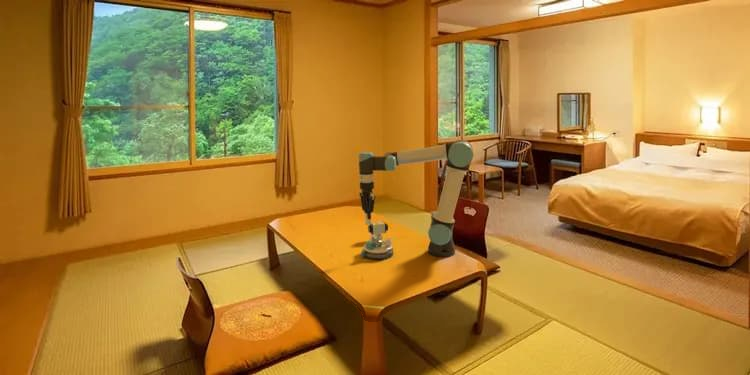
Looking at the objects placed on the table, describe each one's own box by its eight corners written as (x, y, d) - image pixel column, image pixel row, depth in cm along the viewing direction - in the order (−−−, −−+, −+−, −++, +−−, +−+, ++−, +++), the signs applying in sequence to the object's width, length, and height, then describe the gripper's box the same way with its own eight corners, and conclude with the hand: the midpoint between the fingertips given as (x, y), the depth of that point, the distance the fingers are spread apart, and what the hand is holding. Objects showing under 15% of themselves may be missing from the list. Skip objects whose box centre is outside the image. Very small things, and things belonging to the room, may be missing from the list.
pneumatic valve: (388, 240, 258) (388, 221, 256) (370, 242, 255) (369, 223, 252) (385, 237, 263) (385, 219, 261) (367, 239, 260) (367, 221, 258)
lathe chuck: (376, 242, 245) (376, 232, 244) (398, 248, 235) (397, 238, 234) (357, 250, 234) (357, 239, 232) (379, 256, 223) (379, 245, 222)
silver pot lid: (399, 253, 236) (399, 246, 236) (379, 263, 222) (379, 256, 222) (375, 247, 247) (375, 240, 246) (354, 256, 233) (354, 249, 232)
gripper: (354, 180, 227) (356, 222, 232) (366, 184, 216) (368, 228, 221) (366, 178, 231) (368, 220, 235) (379, 182, 220) (380, 225, 225)
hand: (368, 224), depth 228 cm, fingers closed
